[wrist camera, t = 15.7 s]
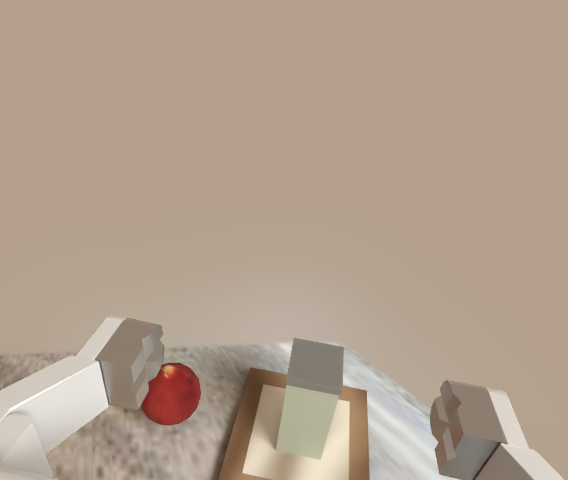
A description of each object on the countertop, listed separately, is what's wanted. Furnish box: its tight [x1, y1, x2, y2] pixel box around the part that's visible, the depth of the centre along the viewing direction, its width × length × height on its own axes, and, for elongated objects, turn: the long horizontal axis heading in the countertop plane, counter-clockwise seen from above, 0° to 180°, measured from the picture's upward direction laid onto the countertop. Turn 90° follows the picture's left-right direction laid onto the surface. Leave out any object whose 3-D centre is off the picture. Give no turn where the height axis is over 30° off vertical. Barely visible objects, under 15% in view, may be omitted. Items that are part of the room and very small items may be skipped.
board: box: [218, 368, 370, 480], centre depth 40 cm, size 14×14×1 cm
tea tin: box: [276, 338, 344, 460], centre depth 37 cm, size 5×5×11 cm
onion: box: [141, 363, 201, 425], centre depth 39 cm, size 6×6×8 cm
